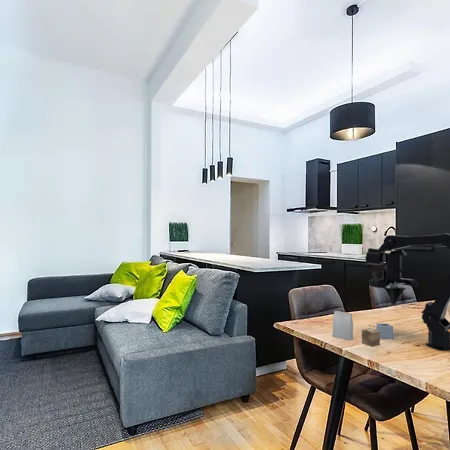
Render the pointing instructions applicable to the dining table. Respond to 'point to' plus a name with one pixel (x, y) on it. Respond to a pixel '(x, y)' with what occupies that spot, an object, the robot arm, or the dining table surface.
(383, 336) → the slate block
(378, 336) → the walnut block
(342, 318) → the grey tapered block
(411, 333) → the dining table surface
